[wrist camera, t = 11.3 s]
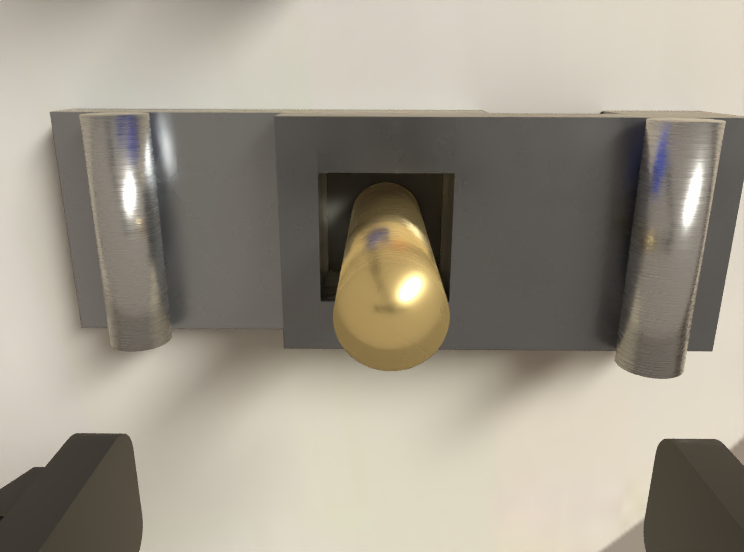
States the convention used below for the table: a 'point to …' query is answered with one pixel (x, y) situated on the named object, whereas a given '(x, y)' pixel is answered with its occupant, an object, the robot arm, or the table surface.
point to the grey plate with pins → (458, 233)
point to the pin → (389, 284)
